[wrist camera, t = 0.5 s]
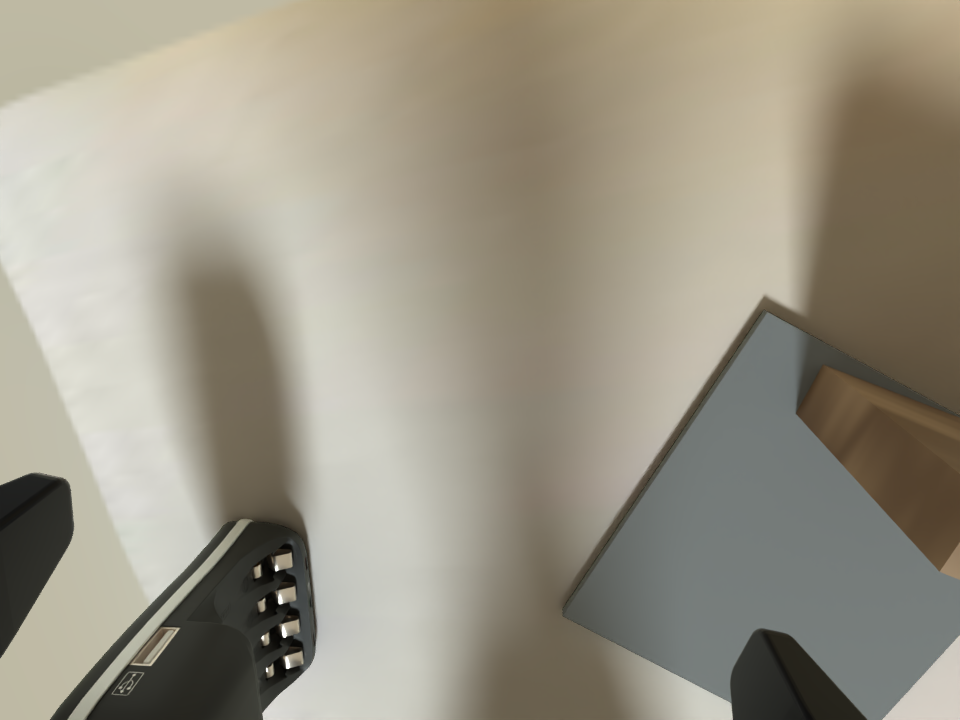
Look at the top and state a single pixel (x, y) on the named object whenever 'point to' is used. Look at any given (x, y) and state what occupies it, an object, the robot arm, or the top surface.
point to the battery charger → (211, 636)
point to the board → (894, 457)
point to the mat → (770, 542)
